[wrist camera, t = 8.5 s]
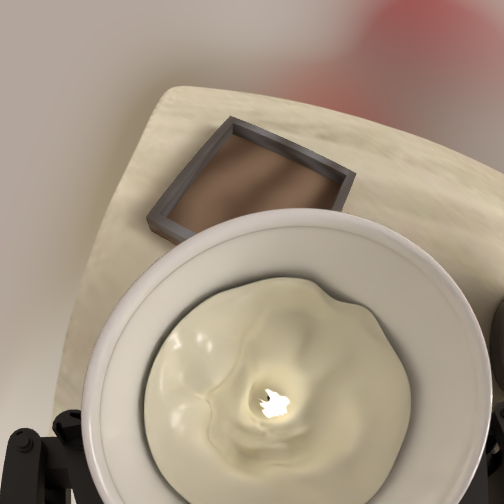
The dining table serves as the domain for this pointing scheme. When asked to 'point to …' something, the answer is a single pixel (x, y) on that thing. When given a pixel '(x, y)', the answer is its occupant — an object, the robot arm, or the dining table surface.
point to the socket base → (246, 181)
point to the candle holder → (289, 371)
